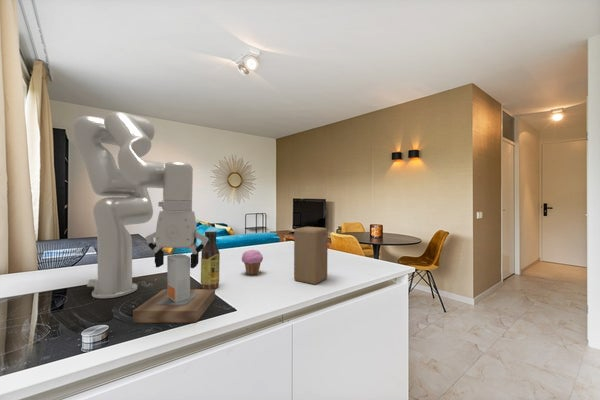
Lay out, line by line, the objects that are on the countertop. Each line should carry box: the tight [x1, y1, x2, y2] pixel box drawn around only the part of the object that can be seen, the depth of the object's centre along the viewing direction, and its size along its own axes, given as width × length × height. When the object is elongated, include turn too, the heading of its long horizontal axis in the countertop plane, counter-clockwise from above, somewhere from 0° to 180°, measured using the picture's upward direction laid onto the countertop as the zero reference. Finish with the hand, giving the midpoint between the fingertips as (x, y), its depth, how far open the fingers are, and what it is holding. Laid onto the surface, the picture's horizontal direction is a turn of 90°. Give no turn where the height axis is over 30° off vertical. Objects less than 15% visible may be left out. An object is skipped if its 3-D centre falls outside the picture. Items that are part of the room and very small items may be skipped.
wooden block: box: [293, 226, 329, 285], centre depth 106 cm, size 10×10×20 cm
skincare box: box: [166, 253, 191, 302], centre depth 77 cm, size 6×4×12 cm
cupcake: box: [241, 249, 264, 276], centre depth 114 cm, size 9×9×10 cm
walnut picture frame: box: [132, 288, 216, 324], centre depth 77 cm, size 16×16×3 cm
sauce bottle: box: [200, 230, 221, 289], centre depth 96 cm, size 6×6×20 cm
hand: (176, 266), depth 78 cm, fingers open, 9 cm apart
